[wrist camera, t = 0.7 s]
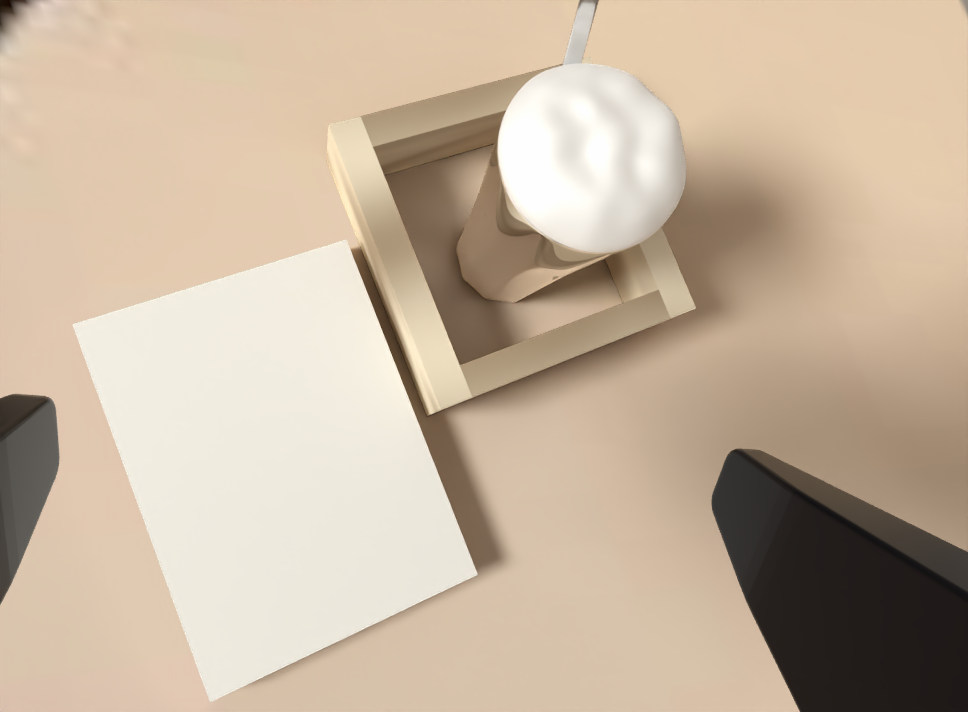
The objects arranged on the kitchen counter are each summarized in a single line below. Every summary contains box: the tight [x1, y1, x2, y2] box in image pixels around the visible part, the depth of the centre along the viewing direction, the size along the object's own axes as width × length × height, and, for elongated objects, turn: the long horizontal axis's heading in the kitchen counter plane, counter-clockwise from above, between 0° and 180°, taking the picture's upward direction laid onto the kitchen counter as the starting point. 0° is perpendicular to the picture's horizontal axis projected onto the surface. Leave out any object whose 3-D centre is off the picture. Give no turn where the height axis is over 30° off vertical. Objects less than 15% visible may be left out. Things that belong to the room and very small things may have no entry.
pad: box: [72, 240, 478, 702], centre depth 21 cm, size 11×8×1 cm
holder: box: [327, 57, 696, 416], centre depth 23 cm, size 9×9×2 cm
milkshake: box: [456, 0, 686, 303], centre depth 19 cm, size 4×5×10 cm
